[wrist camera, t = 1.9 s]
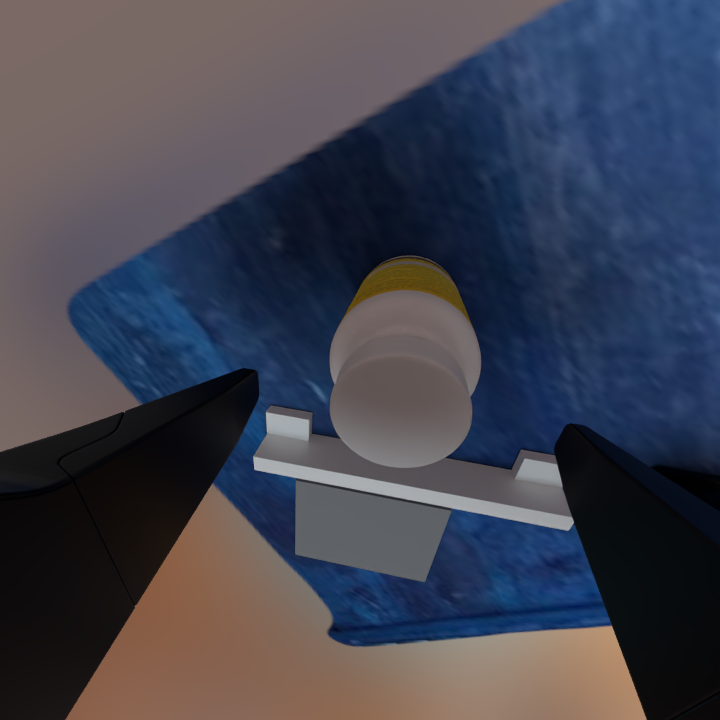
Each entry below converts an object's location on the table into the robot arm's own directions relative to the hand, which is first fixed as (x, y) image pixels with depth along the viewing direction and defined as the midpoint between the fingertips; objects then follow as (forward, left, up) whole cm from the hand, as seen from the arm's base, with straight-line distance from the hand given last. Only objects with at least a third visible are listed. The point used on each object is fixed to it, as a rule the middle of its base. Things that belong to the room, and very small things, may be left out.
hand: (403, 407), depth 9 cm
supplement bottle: (0, 0, -9) cm, 9 cm away
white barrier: (-2, +11, -9) cm, 14 cm away
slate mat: (0, +20, -9) cm, 22 cm away
